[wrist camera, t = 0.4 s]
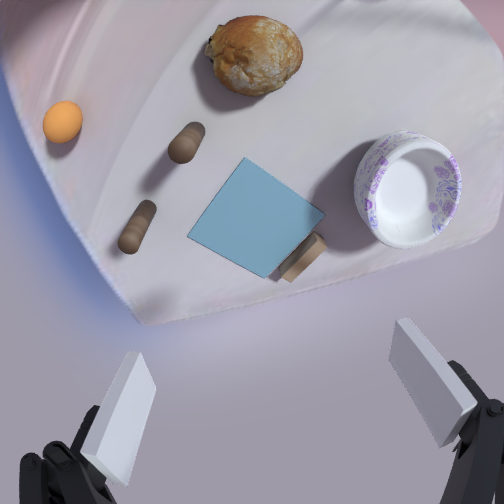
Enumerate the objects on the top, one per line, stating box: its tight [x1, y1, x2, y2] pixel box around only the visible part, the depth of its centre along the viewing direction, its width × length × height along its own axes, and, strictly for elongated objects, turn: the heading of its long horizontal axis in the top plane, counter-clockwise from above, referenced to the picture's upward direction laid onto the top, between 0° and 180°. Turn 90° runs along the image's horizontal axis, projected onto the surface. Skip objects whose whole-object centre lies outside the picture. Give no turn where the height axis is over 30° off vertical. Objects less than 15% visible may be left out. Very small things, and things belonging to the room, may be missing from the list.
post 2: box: [168, 122, 205, 164], centre depth 28 cm, size 3×3×9 cm
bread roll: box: [204, 15, 303, 97], centre depth 25 cm, size 10×10×8 cm
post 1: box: [118, 200, 156, 254], centre depth 33 cm, size 3×3×9 cm
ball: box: [43, 101, 83, 143], centre depth 26 cm, size 6×6×6 cm
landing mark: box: [187, 158, 325, 278], centre depth 39 cm, size 14×14×1 cm
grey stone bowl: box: [353, 131, 461, 249], centre depth 33 cm, size 15×15×8 cm
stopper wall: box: [279, 231, 327, 283], centre depth 42 cm, size 8×2×2 cm, turn 143°
